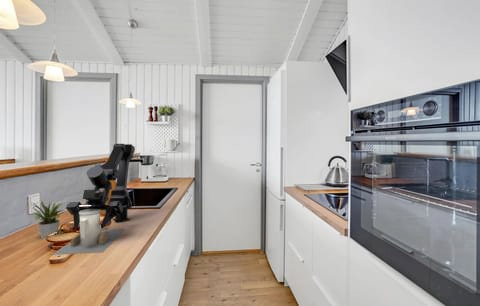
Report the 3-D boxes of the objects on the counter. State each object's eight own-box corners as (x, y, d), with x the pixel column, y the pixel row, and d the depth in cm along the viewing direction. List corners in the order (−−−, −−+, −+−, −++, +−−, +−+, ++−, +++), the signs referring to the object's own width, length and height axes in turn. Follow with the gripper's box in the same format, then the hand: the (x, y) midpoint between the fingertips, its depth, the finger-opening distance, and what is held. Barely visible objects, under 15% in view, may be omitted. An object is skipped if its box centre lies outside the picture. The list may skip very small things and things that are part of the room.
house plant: (13, 246, 91) (11, 202, 90) (33, 233, 104) (32, 195, 104) (58, 242, 95) (57, 200, 94) (72, 230, 108) (71, 193, 108)
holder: (87, 232, 105) (87, 223, 105) (126, 231, 107) (126, 221, 107) (51, 258, 81) (51, 245, 81) (103, 255, 83) (102, 243, 83)
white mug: (85, 239, 94) (84, 208, 94) (104, 239, 95) (103, 208, 95) (72, 249, 86) (71, 215, 85) (93, 248, 86) (92, 214, 86)
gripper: (68, 181, 93) (50, 218, 83) (119, 180, 96) (108, 216, 85) (79, 197, 101) (64, 233, 91) (126, 196, 104) (117, 231, 93)
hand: (88, 228), depth 90 cm, fingers open, 9 cm apart
